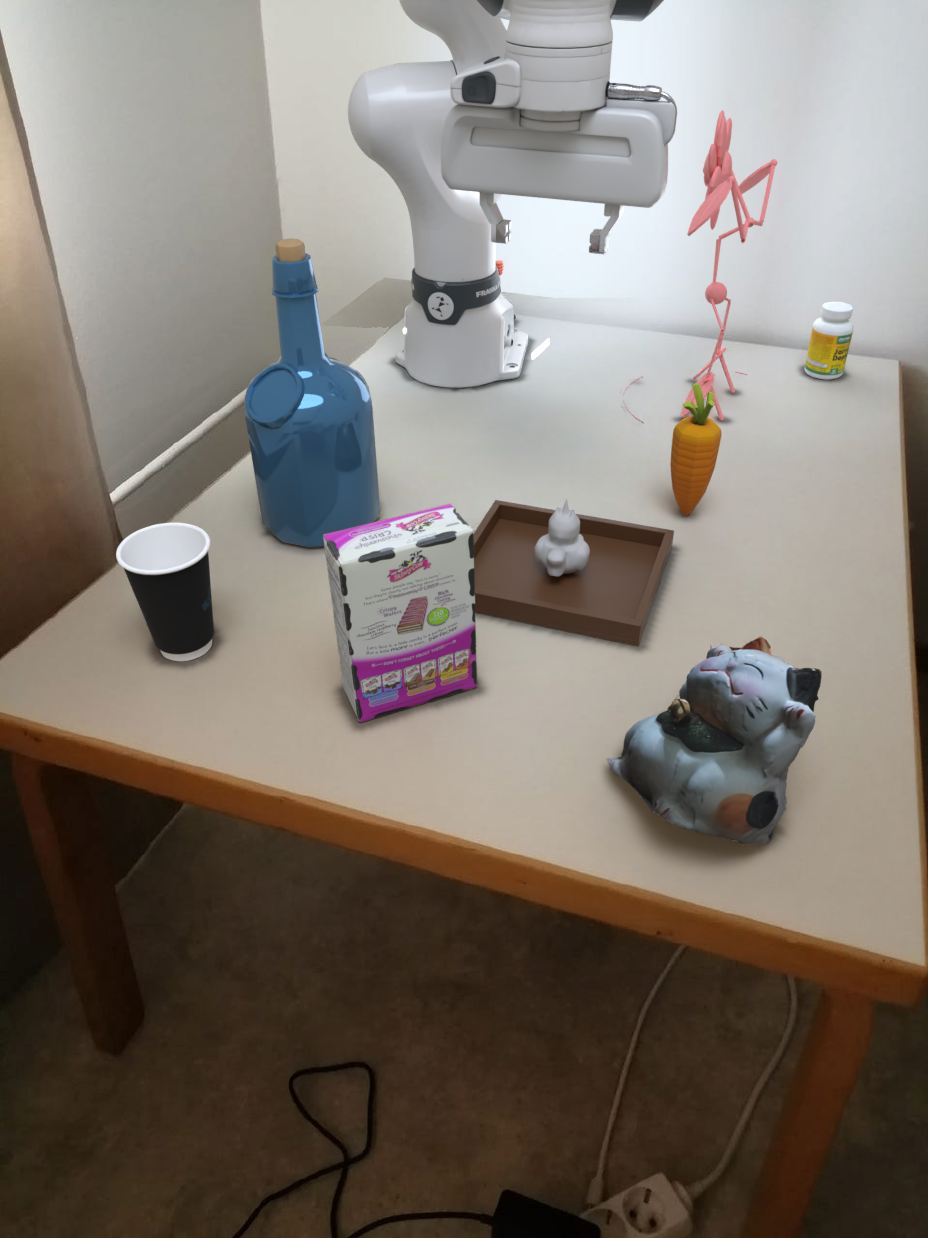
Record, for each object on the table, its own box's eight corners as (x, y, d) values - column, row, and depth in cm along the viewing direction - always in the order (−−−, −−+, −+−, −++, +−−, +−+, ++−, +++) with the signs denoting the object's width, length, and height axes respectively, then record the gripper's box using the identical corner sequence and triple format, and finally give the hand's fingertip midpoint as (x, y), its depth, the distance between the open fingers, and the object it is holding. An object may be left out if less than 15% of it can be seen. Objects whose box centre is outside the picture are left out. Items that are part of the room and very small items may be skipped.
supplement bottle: (815, 362, 141) (830, 296, 135) (849, 372, 138) (866, 305, 132) (796, 372, 138) (810, 306, 132) (830, 383, 135) (846, 315, 129)
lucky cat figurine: (588, 742, 80) (656, 588, 76) (713, 776, 83) (784, 629, 79) (653, 844, 66) (740, 662, 62) (800, 879, 69) (891, 708, 65)
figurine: (749, 370, 139) (798, 96, 118) (718, 449, 120) (770, 139, 99) (644, 355, 144) (672, 89, 123) (598, 429, 125) (622, 129, 103)
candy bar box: (456, 656, 89) (452, 500, 79) (478, 689, 85) (478, 529, 75) (339, 689, 85) (320, 530, 75) (357, 725, 82) (339, 563, 72)
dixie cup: (127, 644, 91) (99, 545, 84) (201, 608, 95) (180, 512, 88) (170, 684, 86) (144, 583, 80) (246, 645, 90) (227, 546, 84)
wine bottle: (317, 478, 115) (286, 214, 97) (405, 511, 109) (390, 235, 91) (233, 529, 107) (182, 249, 88) (324, 568, 100) (289, 275, 82)
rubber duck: (594, 559, 100) (599, 491, 95) (578, 594, 95) (583, 525, 90) (543, 550, 102) (546, 482, 97) (525, 584, 97) (527, 515, 92)
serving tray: (495, 518, 108) (495, 499, 106) (671, 549, 103) (674, 530, 101) (439, 605, 95) (439, 585, 94) (638, 646, 90) (640, 626, 88)
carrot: (707, 529, 106) (729, 400, 97) (661, 524, 106) (678, 396, 97) (708, 505, 110) (728, 380, 100) (663, 501, 110) (679, 376, 101)
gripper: (686, 79, 82) (666, 247, 90) (457, 66, 87) (459, 226, 96) (673, 94, 77) (653, 269, 86) (432, 79, 82) (436, 245, 91)
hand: (549, 246), depth 91 cm, fingers open, 8 cm apart
